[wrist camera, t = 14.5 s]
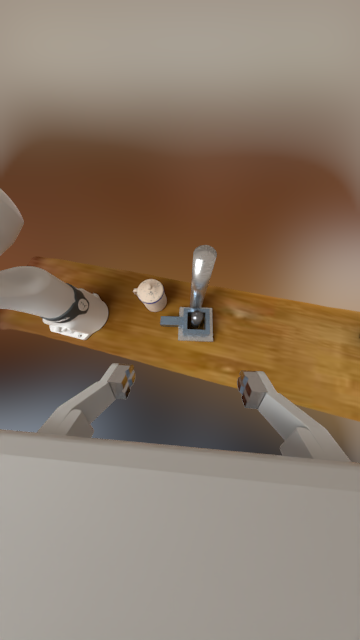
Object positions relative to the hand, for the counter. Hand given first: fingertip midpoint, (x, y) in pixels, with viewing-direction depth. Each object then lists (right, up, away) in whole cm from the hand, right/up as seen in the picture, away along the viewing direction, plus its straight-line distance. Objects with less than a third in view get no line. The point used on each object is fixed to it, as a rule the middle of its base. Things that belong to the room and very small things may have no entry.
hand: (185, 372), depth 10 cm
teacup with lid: (-11, +11, +41) cm, 44 cm away
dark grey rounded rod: (+5, +2, +38) cm, 38 cm away
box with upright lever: (+2, +4, +38) cm, 38 cm away
